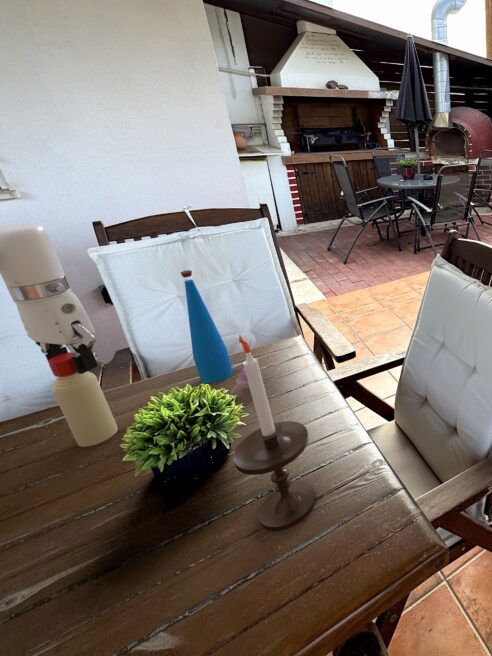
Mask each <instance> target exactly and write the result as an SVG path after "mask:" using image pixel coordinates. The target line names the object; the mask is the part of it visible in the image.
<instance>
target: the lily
mask: <svg viewBox="0 0 492 656" xmlns="http://www.w3.org/2000/svg"><path fill="white" fill-rule="evenodd" d="M256 359H257V361H258V360H259V359H260V358H259V357H258V358H256ZM234 380H235V381H236V385H235V386H234V387H233V388H232V390H231V391H230V393H229V394H228V395H231V396H232V395H233V394H234V393H235V392H238V391H240V390H243V389H246V388H250V387H249V384H248V380H247V376H246V372H245V369H244V368H243V369H242V370H241V372H240V373H239V375H238V376H237V377H236V378H235V379H234Z"/></svg>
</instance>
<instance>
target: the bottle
mask: <svg viewBox="0 0 492 656" xmlns="http://www.w3.org/2000/svg"><path fill="white" fill-rule="evenodd" d="M192 274H193V270H190V269H188V270H183V271H181V272H180V275H181V276H182V278H189V277H192V276H193V275H192ZM184 289H185V297H186V306H187V315H188V322H189V331H190V340H191V349H192V351H191V352H192V358H193V361H194V365H195V367H196V371H197V373H198V378H199V380H200V382H201V383H202V384H206V383H210V384H216V383H219V382H222V381H224V380H226V379H228V378H229V377H231V375H233V373H234V369H233V366H232V361H231V359H230V355H229V352H228V351H229V350H228V348H227V346H226V344H225V342H224V340H223V338H222V336H221V334H220V331H219V330H218V328H217V326H216V324H215V322H214V320H213V318H212V316H211V314H210V312H209V310H208V308H207V306H206V303H205V302H204V300H203V298H202V296H201V294H200V292H199V289H198V288H197V286H196V284H195V281H194V280H193V279H186V280H184Z"/></svg>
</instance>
